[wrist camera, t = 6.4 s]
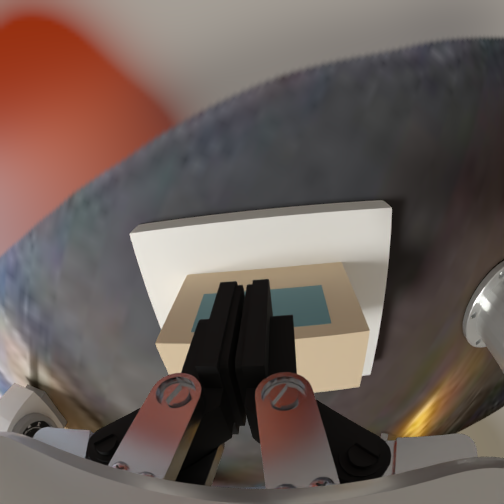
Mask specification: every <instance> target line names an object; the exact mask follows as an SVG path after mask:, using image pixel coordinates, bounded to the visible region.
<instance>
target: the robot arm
mask: <svg viewBox="0 0 504 504" xmlns="http://www.w3.org/2000/svg"><path fill="white" fill-rule="evenodd" d="M463 333H464V336H465V337H466V339H467V341H468V342H469V343H470V344H471V345H472V346H474V347H486V346H487V348H488V349H489V351H490V352H491V354H492V355H493V357H494V358H495V360H496V361H497V363H498V364H499V366H500V368H501V369H502V371H503V372H504V261H503V262H501V263H500V264H498V265H497V266H496V267H495V268H494V269H492V270H491V271H490V272H489V274H488V275H487V276H486V277H485V278H484V279H483V281H482V282H481V283H480V285H479V286H478V287H477V289H476V291H475V292H474V294H473V296H472V298H471V300H470V302H469V304H468V306H467V309H466V312H465V315H464V320H463ZM246 415H247V419H248V422H249V426H250V429H251V433H252V436H253V438H254V439H255V440H256V441H257V442H258V443H260V445H261V453H262V461H263V469H264V477H265V485H266V489H243V488H226V487H214V486H211V485H212V482H213V479H214V477H215V474H216V471H217V468H218V465H219V462H220V459H221V456H222V453H223V450H224V445H225V443H224V442H226V441H227V440H229V439H230V438H232V434H239V426H245V422H246ZM0 504H504V458H499V457H477V449H476V446H475V442H474V441H473V440H472V439H471V438H470V437H469V436H467V435H465V434H448V435H438V436H425V437H404V438H397V439H396V440H395V441H384V440H383V439H382V438H380V437H379V436H377V435H375V434H374V433H372V432H370V431H368V430H366V429H365V428H363V427H361V426H359V425H358V424H356V423H354V422H352V421H351V420H349V419H347V418H345V417H344V416H342V415H340V414H339V413H337V412H335V411H334V410H332V409H330V408H329V407H327V406H326V405H324V404H322V403H321V402H319V401H318V400H316V399H315V396H314V392H313V389H312V386H311V385H310V383H309V381H308V380H306V379H305V378H304V377H303V376H301V375H298V374H297V367H296V351H295V336H294V321H293V315H281V316H273V311H272V302H271V292H270V283H269V279H261V280H253V282H252V284H248V285H247V287H246V294H244V288H243V285H238V284H237V282H236V281H231V282H220V285H219V288H218V291H217V294H216V298H215V301H214V304H213V307H212V311H211V314H210V317H209V319H200V320H199V321H198V324H197V326H196V329H195V332H194V335H193V338H192V341H191V344H190V347H189V350H188V353H187V356H186V359H185V362H184V365H183V368H182V371H181V373H174V374H170V375H167V376H165V377H163V378H161V379H160V380H159V381H157V382H156V384H155V385H154V386H153V388H152V389H151V391H150V393H149V394H148V396H147V398H146V400H145V401H144V403H143V405H142V407H141V408H139V409H137V410H136V411H134V412H132V413H130V414H128V415H126V416H124V417H122V418H120V419H118V420H116V421H115V422H113V423H111V424H109V425H107V426H105V427H103V428H101V429H99V430H97V431H96V432H95V433H92V432H91V430H78V429H63V428H52V427H45V428H42V429H40V430H38V431H37V432H36V433H35V435H34V437H33V438H31V437H28V436H25V435H22V434H19V433H14V432H2V431H0Z"/></svg>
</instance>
